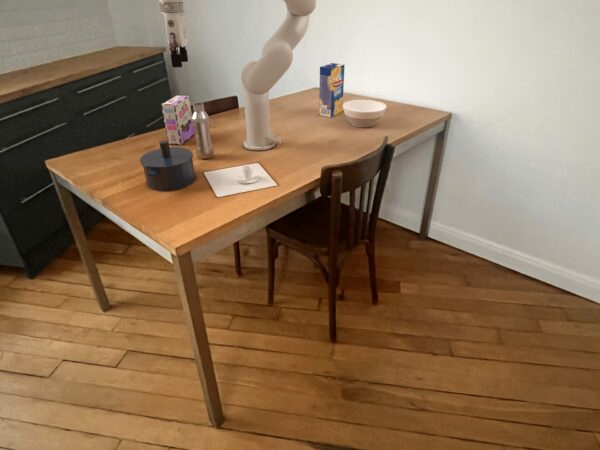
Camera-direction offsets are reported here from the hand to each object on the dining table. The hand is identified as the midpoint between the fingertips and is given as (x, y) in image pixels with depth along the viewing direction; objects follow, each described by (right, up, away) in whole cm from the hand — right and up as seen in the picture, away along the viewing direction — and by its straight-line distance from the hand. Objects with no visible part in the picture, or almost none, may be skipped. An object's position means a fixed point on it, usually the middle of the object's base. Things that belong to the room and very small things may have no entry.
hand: (180, 64), depth 141 cm
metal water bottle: (+6, -30, +13) cm, 33 cm away
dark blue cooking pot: (-2, -41, -4) cm, 41 cm away
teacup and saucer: (+21, -40, -4) cm, 46 cm away
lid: (-2, -34, -8) cm, 35 cm away
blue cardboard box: (+57, -1, +58) cm, 81 cm away
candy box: (-8, -20, +29) cm, 36 cm away
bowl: (+70, -10, +44) cm, 83 cm away
